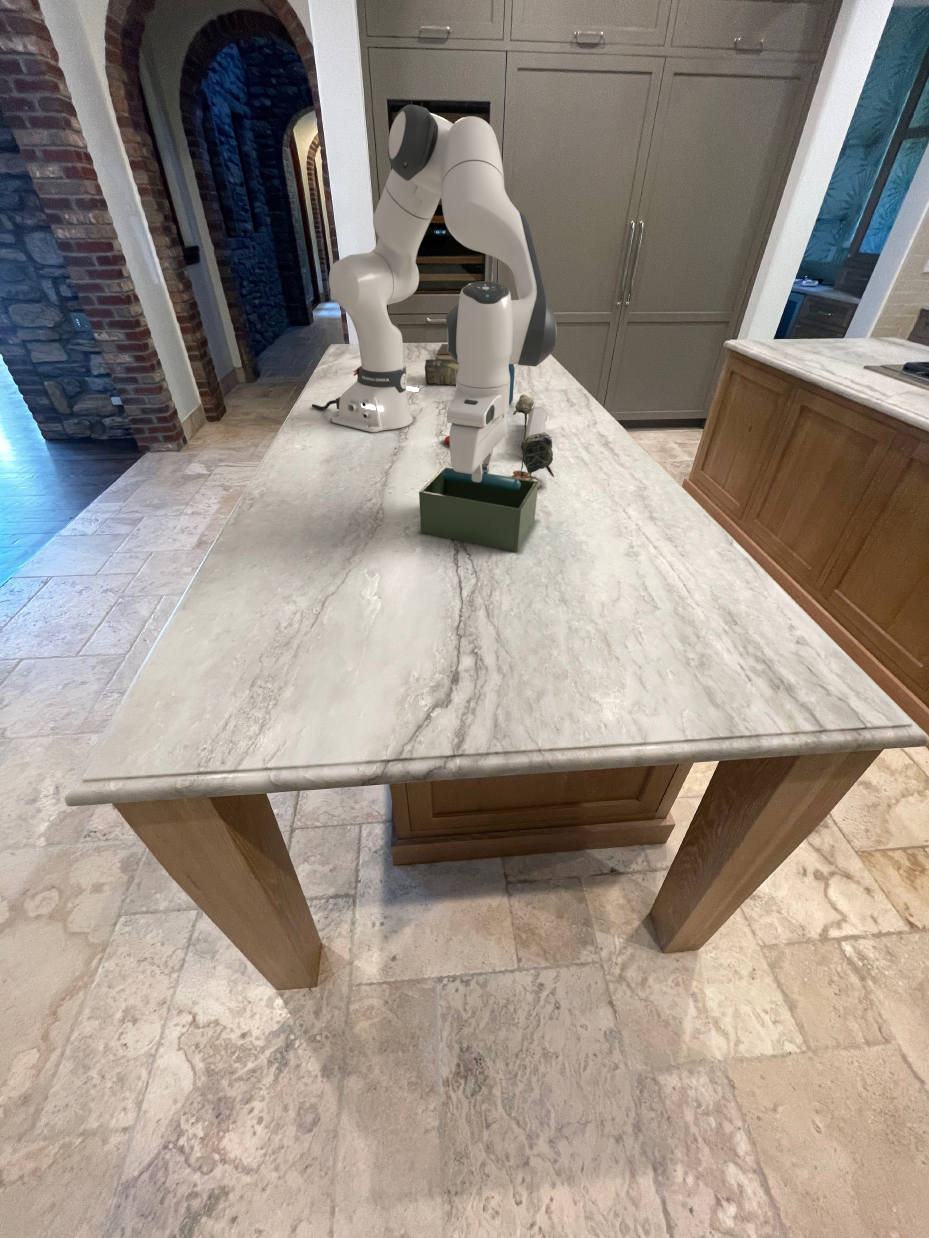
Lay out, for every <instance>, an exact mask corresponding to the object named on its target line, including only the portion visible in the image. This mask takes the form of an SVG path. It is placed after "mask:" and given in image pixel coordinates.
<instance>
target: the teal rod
mask: <svg viewBox="0 0 929 1238" xmlns="http://www.w3.org/2000/svg"><path fill="white" fill-rule="evenodd" d="M491 474H492V473H489V474H485V473H484V474H483V476H484V477H483V479H482V480H481V482H473V481H472V474H466V473H460V472H456V471H454V470H453V468H444V469H443V471H442V476H443V478H444V479H446V480H452V481H458V482H464V483H469V484H475V485H481V486H487V487H493V488H499V489H505V490H510V491H517V490H519V489H520V487H521V483H520V481H519V480H518V479H515V478H509V476H508V477H503V476H504V475H502V476H497V475H498V474H495V475H491Z"/></svg>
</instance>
